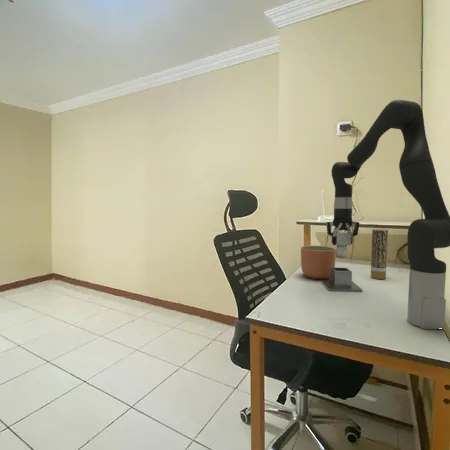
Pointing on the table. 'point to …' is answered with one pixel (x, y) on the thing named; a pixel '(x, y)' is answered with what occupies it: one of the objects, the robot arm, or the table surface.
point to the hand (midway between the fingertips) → (341, 244)
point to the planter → (317, 261)
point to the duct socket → (341, 281)
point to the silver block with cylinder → (342, 244)
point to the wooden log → (379, 253)
